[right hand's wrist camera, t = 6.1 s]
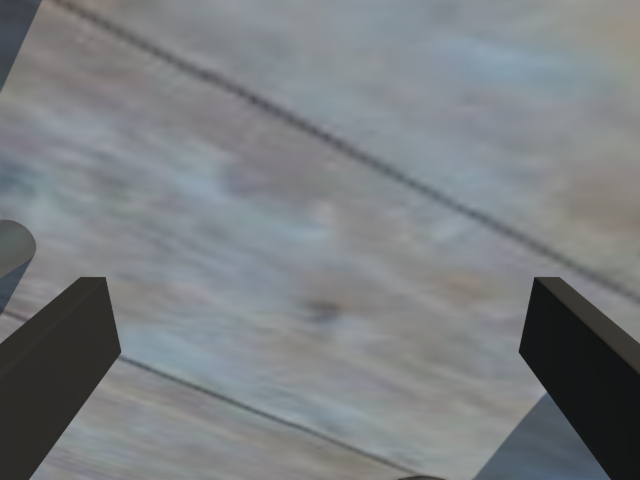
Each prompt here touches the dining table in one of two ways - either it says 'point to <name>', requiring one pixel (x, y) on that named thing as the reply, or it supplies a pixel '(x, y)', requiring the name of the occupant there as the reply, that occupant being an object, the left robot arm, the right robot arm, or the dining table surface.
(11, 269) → the jar
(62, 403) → the right robot arm
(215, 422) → the dining table surface
